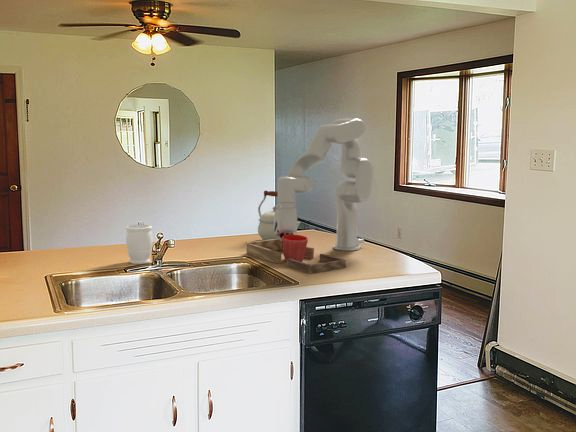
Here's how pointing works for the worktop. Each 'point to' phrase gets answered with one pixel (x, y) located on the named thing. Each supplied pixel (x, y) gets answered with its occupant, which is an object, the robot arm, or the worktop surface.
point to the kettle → (268, 220)
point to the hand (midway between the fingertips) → (285, 248)
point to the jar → (139, 243)
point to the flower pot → (294, 246)
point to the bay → (328, 265)
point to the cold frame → (271, 250)
